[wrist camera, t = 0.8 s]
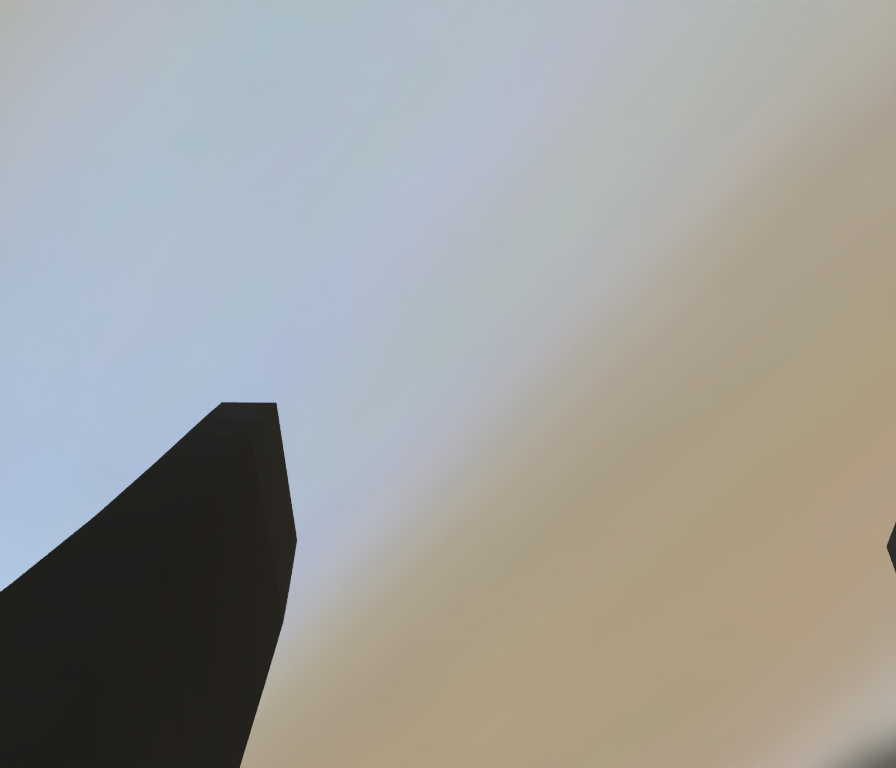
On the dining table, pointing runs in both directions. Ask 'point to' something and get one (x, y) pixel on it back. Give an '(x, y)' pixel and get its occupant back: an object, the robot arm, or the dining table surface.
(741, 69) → the dining table surface
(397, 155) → the dining table surface
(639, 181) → the dining table surface
